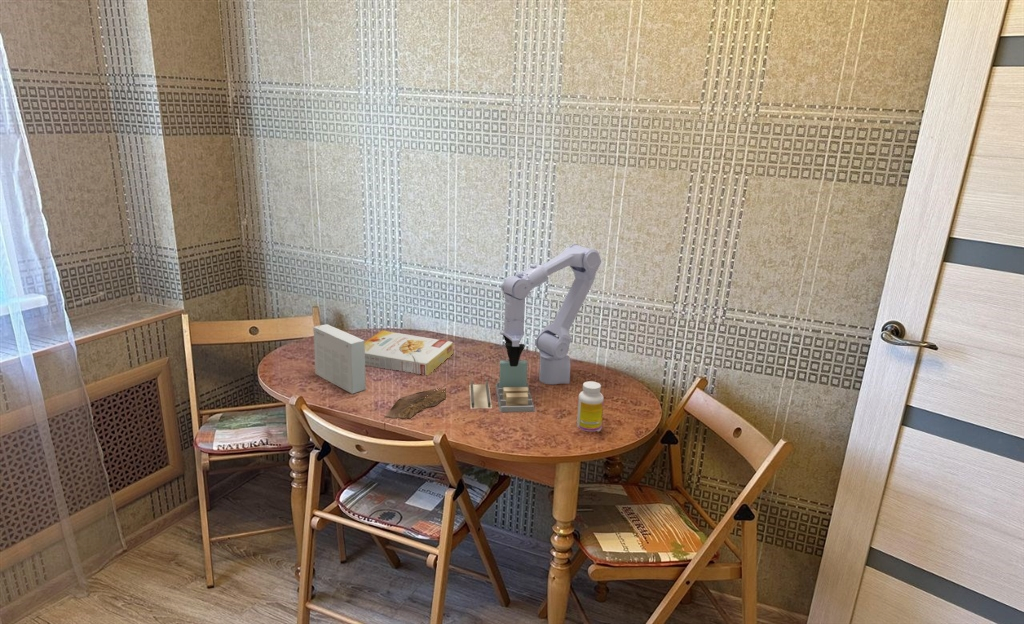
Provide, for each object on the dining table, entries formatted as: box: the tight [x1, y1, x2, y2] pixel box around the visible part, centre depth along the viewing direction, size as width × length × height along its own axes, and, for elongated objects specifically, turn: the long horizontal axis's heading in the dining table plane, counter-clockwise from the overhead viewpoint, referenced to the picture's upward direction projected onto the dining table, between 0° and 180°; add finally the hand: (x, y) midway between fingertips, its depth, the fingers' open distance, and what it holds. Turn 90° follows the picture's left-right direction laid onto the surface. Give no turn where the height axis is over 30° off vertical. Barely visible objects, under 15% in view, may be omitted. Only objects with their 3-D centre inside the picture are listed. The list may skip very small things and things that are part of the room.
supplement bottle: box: [576, 380, 605, 433], centre depth 165 cm, size 7×7×13 cm
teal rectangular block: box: [499, 359, 528, 388], centre depth 185 cm, size 8×2×9 cm, turn 95°
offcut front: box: [506, 393, 528, 406], centre depth 175 cm, size 6×2×4 cm, turn 95°
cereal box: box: [364, 329, 454, 376], centre depth 210 cm, size 20×6×28 cm
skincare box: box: [312, 323, 367, 395], centre depth 189 cm, size 21×5×16 cm, turn 47°
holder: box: [468, 380, 493, 410], centre depth 182 cm, size 6×16×2 cm, turn 5°
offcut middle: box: [503, 387, 528, 400], centre depth 178 cm, size 7×2×4 cm, turn 95°
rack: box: [495, 381, 536, 413], centre depth 182 cm, size 10×19×2 cm, turn 5°
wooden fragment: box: [384, 387, 447, 420], centre depth 180 cm, size 26×11×1 cm, turn 142°
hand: (512, 361), depth 184 cm, fingers open, 7 cm apart
